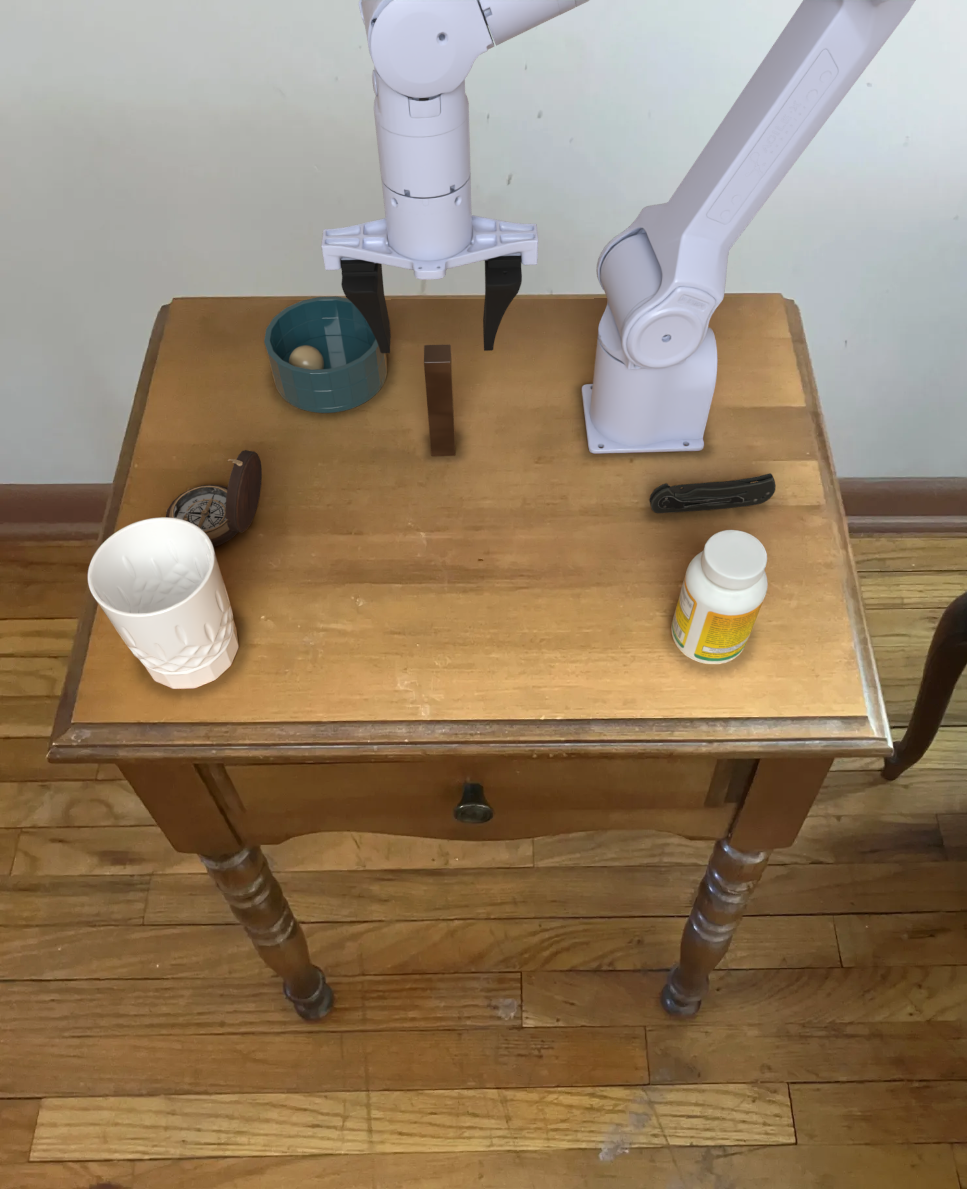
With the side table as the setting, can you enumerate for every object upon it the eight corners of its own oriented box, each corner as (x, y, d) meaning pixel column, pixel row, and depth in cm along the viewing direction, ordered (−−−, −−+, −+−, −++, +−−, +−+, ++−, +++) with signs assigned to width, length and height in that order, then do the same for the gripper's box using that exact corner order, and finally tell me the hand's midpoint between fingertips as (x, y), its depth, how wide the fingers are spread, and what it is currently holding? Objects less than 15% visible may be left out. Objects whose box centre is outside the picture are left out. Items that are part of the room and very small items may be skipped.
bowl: (389, 335, 89) (384, 294, 86) (385, 411, 83) (380, 371, 80) (280, 338, 89) (271, 297, 86) (268, 415, 83) (258, 374, 80)
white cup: (224, 706, 67) (186, 625, 59) (117, 687, 68) (65, 604, 60) (262, 613, 71) (232, 526, 63) (161, 597, 72) (118, 508, 64)
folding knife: (767, 496, 77) (776, 470, 75) (772, 508, 76) (781, 482, 74) (646, 507, 77) (651, 481, 74) (650, 519, 76) (655, 494, 73)
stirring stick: (455, 438, 81) (450, 344, 73) (455, 456, 80) (450, 361, 72) (431, 439, 81) (424, 344, 73) (431, 456, 80) (423, 362, 72)
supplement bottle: (655, 637, 69) (675, 554, 62) (699, 592, 72) (724, 507, 64) (717, 681, 67) (746, 601, 59) (761, 633, 70) (794, 550, 62)
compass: (182, 488, 78) (156, 422, 73) (276, 498, 78) (258, 433, 72) (146, 565, 74) (115, 502, 68) (246, 578, 73) (224, 515, 67)
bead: (319, 345, 82) (306, 378, 82) (334, 357, 85) (322, 389, 85) (289, 336, 83) (277, 369, 83) (306, 348, 86) (294, 379, 86)
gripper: (306, 212, 59) (336, 382, 70) (543, 206, 59) (536, 377, 70) (315, 150, 63) (342, 319, 74) (537, 144, 63) (531, 314, 74)
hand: (436, 343), depth 73 cm, fingers open, 7 cm apart
